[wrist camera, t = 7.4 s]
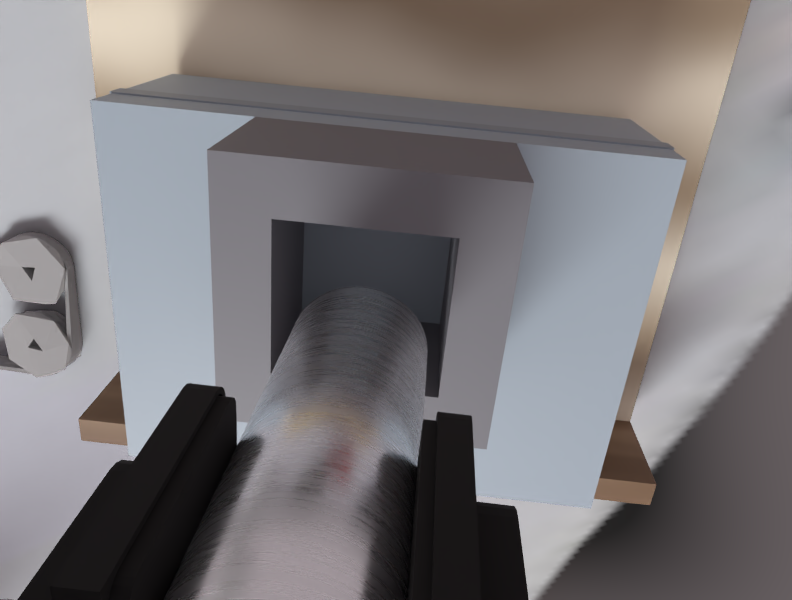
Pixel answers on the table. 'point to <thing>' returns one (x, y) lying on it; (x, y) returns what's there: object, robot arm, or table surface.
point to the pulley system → (40, 283)
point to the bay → (456, 94)
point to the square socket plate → (387, 253)
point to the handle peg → (322, 465)
